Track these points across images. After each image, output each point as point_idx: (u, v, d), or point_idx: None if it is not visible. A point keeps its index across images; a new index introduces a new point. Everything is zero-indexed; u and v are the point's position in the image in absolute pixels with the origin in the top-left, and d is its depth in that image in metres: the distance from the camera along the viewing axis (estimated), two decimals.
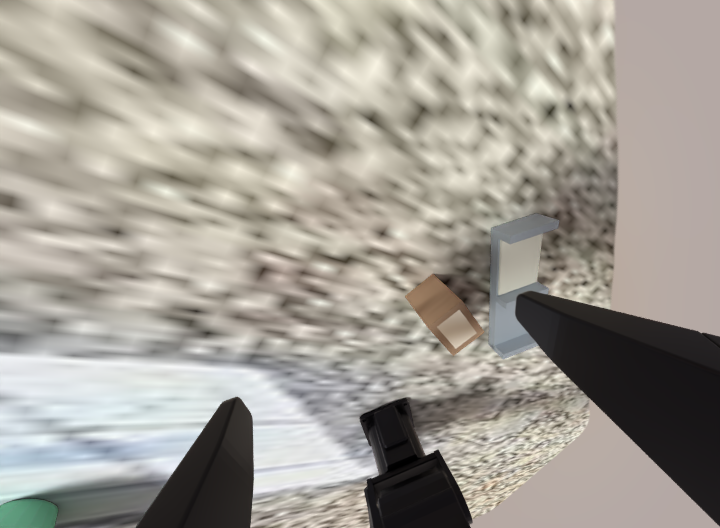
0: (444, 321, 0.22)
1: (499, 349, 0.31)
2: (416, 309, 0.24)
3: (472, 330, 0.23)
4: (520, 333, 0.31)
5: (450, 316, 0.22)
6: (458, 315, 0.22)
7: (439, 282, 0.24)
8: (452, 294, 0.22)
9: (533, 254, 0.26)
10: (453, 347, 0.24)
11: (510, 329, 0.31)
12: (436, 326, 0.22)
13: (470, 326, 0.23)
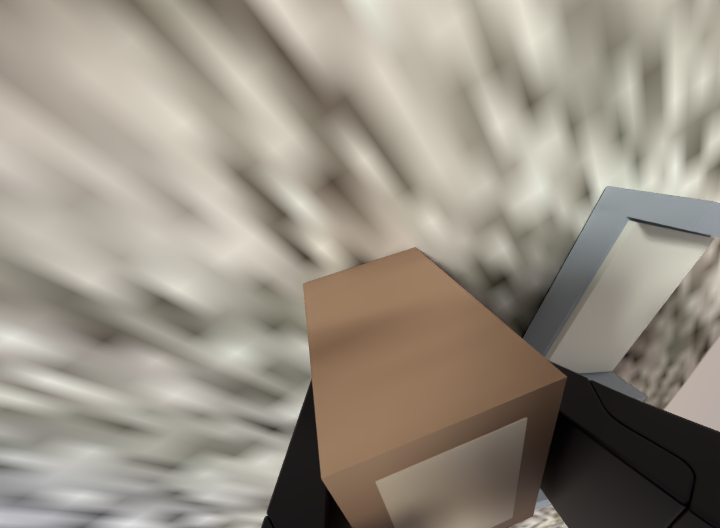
0: (427, 458, 0.04)
1: None
2: (315, 339, 0.05)
3: (506, 508, 0.05)
4: None
5: (470, 444, 0.04)
6: (503, 439, 0.04)
7: (435, 272, 0.07)
8: (496, 326, 0.05)
9: (651, 303, 0.10)
10: None
11: None
12: (374, 475, 0.04)
13: (512, 493, 0.05)
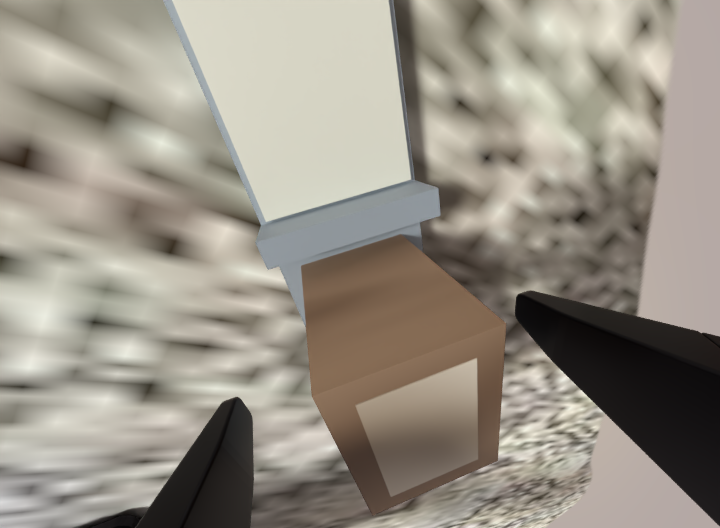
0: (396, 387, 0.05)
1: None
2: (310, 306, 0.06)
3: (471, 448, 0.06)
4: None
5: (430, 378, 0.05)
6: (460, 380, 0.05)
7: (415, 253, 0.08)
8: (459, 291, 0.06)
9: (360, 33, 0.06)
10: (386, 489, 0.06)
11: None
12: (355, 400, 0.05)
13: (474, 432, 0.06)
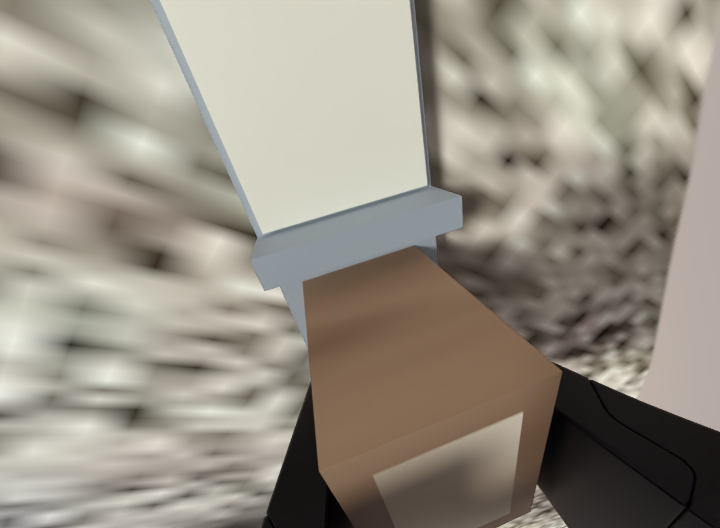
0: (423, 452, 0.04)
1: None
2: (314, 336, 0.05)
3: (503, 503, 0.05)
4: None
5: (466, 438, 0.04)
6: (499, 435, 0.04)
7: (433, 269, 0.07)
8: (493, 322, 0.05)
9: (373, 15, 0.05)
10: None
11: None
12: (371, 468, 0.04)
13: (509, 488, 0.05)
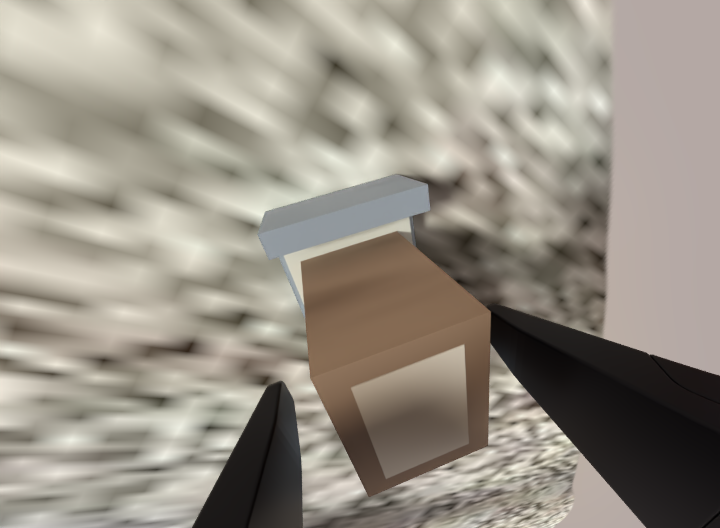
0: (388, 371, 0.05)
1: None
2: (309, 299, 0.07)
3: (461, 433, 0.07)
4: None
5: (421, 363, 0.05)
6: (449, 365, 0.05)
7: (409, 248, 0.08)
8: (449, 283, 0.06)
9: None
10: (382, 471, 0.07)
11: None
12: (350, 383, 0.05)
13: (464, 417, 0.06)
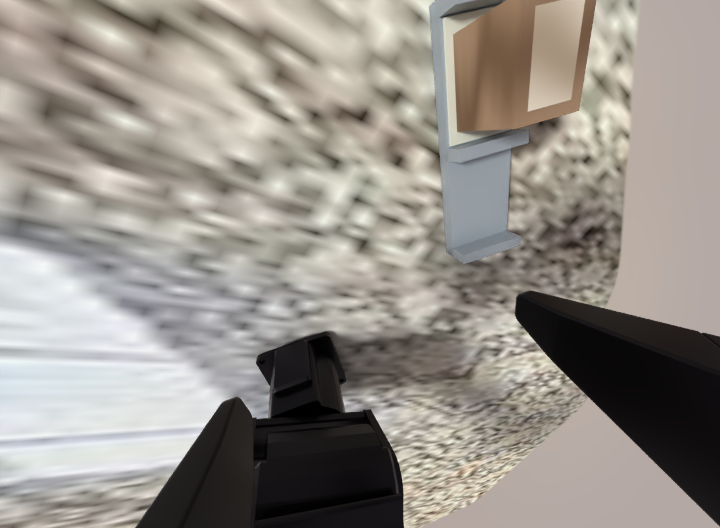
0: (551, 1, 0.11)
1: (459, 251, 0.20)
2: (485, 14, 0.12)
3: (569, 84, 0.12)
4: (491, 231, 0.21)
5: (566, 0, 0.11)
6: (574, 15, 0.11)
7: None
8: None
9: None
10: (527, 103, 0.12)
11: (475, 221, 0.20)
12: (534, 7, 0.11)
13: (574, 67, 0.12)
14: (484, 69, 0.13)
